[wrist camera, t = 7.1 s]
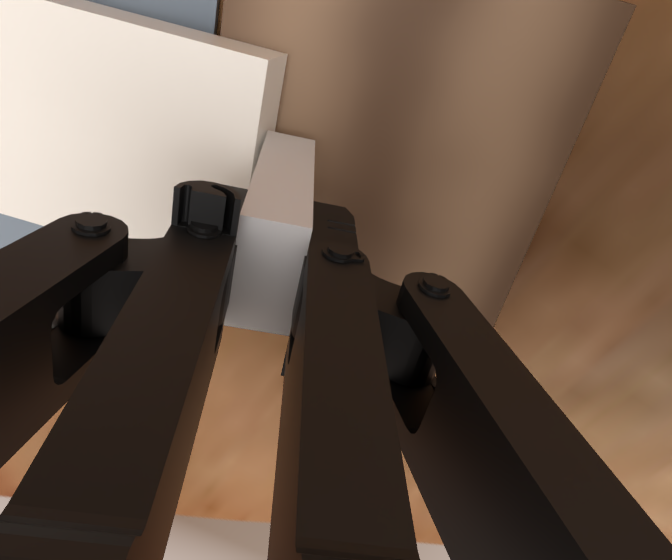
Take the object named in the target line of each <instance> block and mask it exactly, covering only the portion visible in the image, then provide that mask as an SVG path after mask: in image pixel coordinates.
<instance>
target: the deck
mask: <svg viewBox="0 0 672 560" xmlns="http://www.w3.org/2000/svg"><path fill="white" fill-rule="evenodd" d="M635 8H636V5H634V4H630V3H627V2H623V1H619V0H224V3H223V13H222V22H221V32H220V36H222V37H225V38H229V39H233V40H237V41H241V42H244V43H248V44H252V45H256V46H259V47H263V48H267V49H271V50H274V51H278V52H282V53H286V54H288V55H287V61H286V67H285V73H284V79H283V85H282V91H281V97H280V103H279V109H278V116H277V122H276V128H275V132H278V133H283V134H288V135H292V136H297V137H302V138H306V139H311V140H315V164H314V199H313V201H316V202H322V203H327V204H332V205H337V206H342V207H346V208H347V209H348V210H349V212H350V213H351V214H352V215H353V216H354V220H355V227H356V234H357V241H358V248H359V250H360V251H361V252H363V253H364V254H365V255H366V256H367V258H368V260H369V262H370V268H371V273H372V274H374V275H375V276H377V277H379V278H381V279H384V280H386V281H388V282H391V283H394V284H397V285H400V286H401V285H402V282H403V279H404V277H405V275H407V274H410V273H412V272H426V273H435V274H438V276H439V275H441V276H444V277H446V278H447V279H448V280H450V281H451V282H453V283H455V284H456V285H457V286H458V287H459V288H460V289H462V290H463V292H464V293H465V294H466V295H467V297H468V298H469V299H470V300H471V301H472V303H473V304H474V305H475V306H476V307H477V309H478V310H479V311H480V312H481V314H482V315H483V316H484V317H485V318H486V320H487V321H488V322H489V323H490V324H491V326H492V327H494V325H495V322H496V320H497V318H498V316H499V313H500V311H501V309H502V307H503V304H504V302H505V300H506V298H507V295H508V293H509V291H510V289H511V286H512V284H513V282H514V280H515V277H516V275H517V273H518V271H519V268H520V266H521V264H522V262H523V259H524V257H525V255H526V253H527V250H528V248H529V246H530V244H531V241H532V239H533V237H534V235H535V232H536V230H537V228H538V226H539V223H540V221H541V219H542V217H543V214H544V212H545V210H546V208H547V205H548V203H549V201H550V199H551V196H552V194H553V192H554V190H555V188H556V185H557V183H558V181H559V179H560V176H561V174H562V172H563V170H564V167H565V165H566V163H567V161H568V158H569V156H570V154H571V152H572V149H573V147H574V145H575V143H576V140H577V138H578V136H579V134H580V131H581V129H582V127H583V125H584V122H585V120H586V118H587V116H588V113H589V111H590V109H591V107H592V104H593V102H594V100H595V98H596V95H597V93H598V91H599V89H600V86H601V84H602V82H603V80H604V77H605V75H606V73H607V71H608V68H609V66H610V64H611V62H612V59H613V57H614V55H615V53H616V50H617V48H618V46H619V44H620V41H621V39H622V37H623V35H624V32H625V30H626V28H627V26H628V23H629V21H630V19H631V17H632V14H633V12H634V10H635ZM224 320H225V319H224ZM290 332H291V330H290ZM289 336H290V334H289Z"/></svg>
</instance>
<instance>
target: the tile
mask: <svg viewBox="0 0 672 560" xmlns="http://www.w3.org/2000/svg"><path fill="white" fill-rule="evenodd" d="M287 55H288V54H286V53H282V52H278V51H274V50H271V49H267V48H263V47H259V46H256V45H252V44H248V43H244V42H241V41H237V40H233V39H229V38H225V37H222V36H218V35H214V34H210V33H207V32H203V31H199V30H195V29H192V28H188V27H184V26H180V25H177V24H173V23H169V22H165V21H162V20H158V19H154V18H150V17H147V16H143V15H139V14H135V13H132V12H128V11H124V10H120V9H117V8H113V7H109V6H105V5H102V4H98V3H94V2H90V1H87V0H0V213H1V214H4V215H8V216H11V217H14V218H18V219H21V220H25V221H28V222H32V223H35V224H38V225H42V226H45V225H47V224H49V223H51V222H53V221H55V220H57V219H59V218H61V217H64V216H67V215H70V214H77V213H82V212H91V213H93V212H99V213H102V214H104V215H109V216H113V217H115V218H117V219H120V220H122V221H123V222H124V223H125V224H126V225H127V226H128V231H129V236H128V238H136V239H152V238H161V237H164V236H165V234H166V232H167V231H168V229H169V227H170V225H171V218H172V205H173V192H174V186H176V185H177V184H179V183H181V182H185V181H196V180H202V181H210V182H215V183H219V184H223V185H228V186H233V187H238V188H244V189H248V188H249V185H250V182H251V179H252V176H253V173H254V170H255V167H256V164H257V161H258V158H259V155H260V152H261V149H262V146H263V143H264V140H265V137H266V134H267V131H268V130H269V131H274V132H275V128H276V122H277V116H278V109H279V103H280V97H281V91H282V85H283V79H284V73H285V67H286V61H287Z"/></svg>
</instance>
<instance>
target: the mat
mask: <svg viewBox="0 0 672 560" xmlns="http://www.w3.org/2000/svg"><path fill="white" fill-rule="evenodd" d="M87 1H90V2H94V3H98V4H102V5H105V6H109V7H113V8H117V9H120V10H124V11H128V12H132V13H135V14H139V15H143V16H147V17H150V18H154V19H158V20H162V21H165V22H169V23H173V24H177V25H180V26H184V27H188V28H192V29H195V30H199V31H203V32H207V33H210V34H214V35H216V32H217V22H218V12H219V2H220V0H87ZM41 227H43V226H42V225H38V224H35V223H32V222H28V221H25V220H21V219H18V218H14V217H11V216H8V215H4V214H1V213H0V249H1V248H3V247H5V246H7V245H9V244H11V243H13V242H14V241H16V240H18V239H20V238H22V237H24V236H26V235H28V234H30V233H32V232H34V231H36V230H37V229H39V228H41Z"/></svg>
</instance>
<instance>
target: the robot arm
mask: <svg viewBox="0 0 672 560" xmlns="http://www.w3.org/2000/svg"><path fill="white" fill-rule="evenodd" d="M314 164H315V140H311V139H306V138H302V137H297V136H292V135H288V134H283V133H278V132H274V131H269V130H268V131H267V134H266V137H265V140H264V143H263V146H262V149H261V152H260V155H259V158H258V161H257V164H256V167H255V170H254V173H253V176H252V179H251V182H250V185H249V188H248V189H244V188H238V187H233V186H228V185H223V184H219V183H215V182H210V181H202V180H196V181H185V182H181V183H179V184H177V185H176V186H174V192H173V205H172V218H171V225H170V227H169V229H168V231H167V232H166V234H165V236H164V237H161V238H152V239H136V238H128V236H129V231H128V226H127V225H126V224H125V223H124V222H123V221H122V220H120V219H117V218H115V217H113V216H109V215H104V214H102V213H99V212H93V213H91V212H82V213H77V214H70V215H67V216H64V217H61V218H59V219H57V220H55V221H53V222H51V223H49V224H47V225H45V226H43V227H41V228H39V229H37V230H36V231H34V232H32V233H30V234H28V235H26V236H24V237H22V238H20V239H18V240H16V241H14V242H13V243H11V244H9V245H7V246H5V247H3V248H1V249H0V468H1V467H2V466H3V465H4V464H5V463H6V462H7V461H8V460H9V459H10V458H11V457H12V456H13V455H14V454H15V453H16V452H17V451H18V450H19V449H20V448H21V447H22V446H23V445H24V444H25V443H26V442H27V441H28V440H29V439H30V438H31V437H32V436H33V435H34V434H35V433H36V432H37V431H38V430H39V429H40V428H41V427H42V426H43V425H44V424H45V423H46V422H47V421H48V420H49V419H50V418H51V417H52V416H53V415H54V414H55V413H56V412H57V411H58V410H59V409H60V408H61V407H62V406H63V405H64V404H65V403H66V402H67V401H68V402H67V404H66V405H65V407H64V409H63V411H62V412H61V414H60V416H59V417H58V419H57V421H56V423H55V424H54V426H53V428H52V429H51V431H50V433H49V435H48V436H47V438H46V440H45V441H44V443H43V445H42V447H41V448H40V450H39V452H38V453H37V455H36V457H35V459H34V460H33V462H32V464H31V465H30V467H29V469H28V471H27V472H26V474H25V476H24V477H23V479H22V481H21V482H20V484H19V486H18V488H17V489H16V491H15V493H14V494H13V496H12V498H11V500H10V501H9V503H8V505H7V506H6V507H5V509H4V510H3V512H2V513H1V515H0V560H163V557H164V553H165V549H166V546H167V541H168V538H169V534H170V530H171V527H172V523H173V519H174V515H175V512H176V508H177V504H178V500H179V497H180V493H181V489H182V485H183V481H184V478H185V474H186V470H187V466H188V463H189V459H190V455H191V451H192V447H193V444H194V440H195V436H196V432H197V429H198V425H199V421H200V417H201V413H202V410H203V406H204V402H205V398H206V395H207V391H208V387H209V383H210V380H211V376H212V372H213V368H214V364H215V361H216V357H217V353H218V349H219V346H220V342H221V338H222V331H223V324H224V325H225V326H231V327H237V328H243V329H249V330H255V331H261V332H267V333H273V334H280V335H286V336H289V334H290V336H289V341H288V345H287V350H286V354H285V359H284V363H283V368H282V373H281V376H284V384H283V395H282V406H281V417H280V428H279V439H278V450H277V461H276V472H275V483H274V494H273V504H272V515H271V526H270V527H271V528H270V537H269V548H268V559H267V560H420V558H419V554H418V550H417V544H416V538H415V532H414V526H413V520H412V514H411V508H410V502H409V496H408V490H407V484H406V478H405V472H404V466H403V460H402V454H401V451H402V453H403V455H404V457H405V460H406V462H407V464H408V466H409V468H410V471H411V473H412V475H413V477H414V479H415V482H416V484H417V486H418V488H419V491H420V493H421V495H422V497H423V499H424V502H425V504H426V506H427V508H428V510H429V513H430V515H431V517H432V519H433V522H434V524H435V526H436V528H437V530H438V533H439V535H440V537H441V539H442V542H443V544H444V546H445V548H446V550H447V553H448V555H449V557H450V559H451V560H672V544H671V543H670V542H669V540H668V539H667V538H666V537H665V536H664V534H663V533H662V532H661V531H660V529H659V528H658V527H657V526H656V525H655V523H654V522H653V521H652V520H651V519H650V517H649V516H648V515H647V514H646V512H645V511H644V510H643V509H642V508H641V506H640V505H639V504H638V503H637V502H636V500H635V499H634V498H633V497H632V495H631V494H630V493H629V492H628V491H627V489H626V488H625V487H624V486H623V485H622V483H621V482H620V481H619V480H618V478H617V477H616V476H615V475H614V474H613V472H612V471H611V470H610V469H609V468H608V466H607V465H606V464H605V463H604V462H603V460H602V459H601V458H600V457H599V455H598V454H597V453H596V452H595V451H594V449H593V448H592V447H591V446H590V445H589V443H588V442H587V441H586V440H585V438H584V437H583V436H582V435H581V434H580V432H579V431H578V430H577V429H576V428H575V426H574V425H573V424H572V423H571V421H570V420H569V419H568V418H567V417H566V415H565V414H564V413H563V412H562V411H561V409H560V408H559V407H558V406H557V404H556V403H555V402H554V401H553V400H552V398H551V397H550V396H549V395H548V394H547V392H546V391H545V390H544V389H543V388H542V386H541V385H540V384H539V383H538V381H537V380H536V379H535V378H534V377H533V375H532V374H531V373H530V372H529V371H528V369H527V368H526V367H525V366H524V364H523V363H522V362H521V361H520V360H519V358H518V357H517V356H516V355H515V354H514V352H513V351H512V350H511V349H510V347H509V346H508V345H507V344H506V343H505V341H504V340H503V339H502V338H501V337H500V335H499V334H498V333H497V332H496V330H495V329H494V328H493V327H492V326H491V324H490V323H489V322H488V321H487V320H486V318H485V317H484V316H483V315H482V314H481V312H480V311H479V310H478V309H477V307H476V306H475V305H474V304H473V303H472V301H471V300H470V299H469V298H468V297H467V295H466V294H465V293H464V292H463V290H462V289H460V288H459V287H458V286H457V285H456V284H455V283H453V282H451V281H450V280H448V279H447V278H446V277H444V276H441V275H439V276H438V274H435V273H426V272H412V273H410V274H407V275H405V277H404V279H403V282H402V285H401V286H400V285H397V284H394V283H391V282H388V281H386V280H384V279H381V278H379V277H377V276H375V275H374V274H372V273H371V268H370V262H369V260H368V258H367V256H366V255H365V254H364V253H363V252H361V251H360V250H359V248H358V241H357V234H356V227H355V220H354V216H353V215H352V214H351V213H350V212H349V210H348V209H347V208H346V207H342V206H337V205H332V204H327V203H322V202H316V201H313V199H314ZM224 319H225V320H224ZM290 330H291V332H290ZM435 374H436V376H435Z"/></svg>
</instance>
